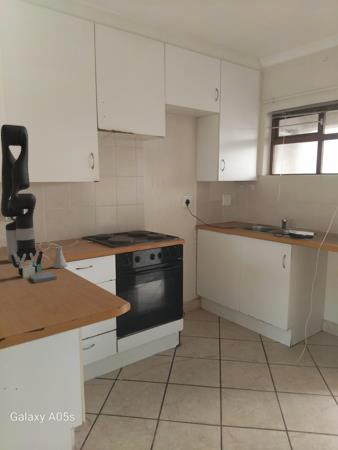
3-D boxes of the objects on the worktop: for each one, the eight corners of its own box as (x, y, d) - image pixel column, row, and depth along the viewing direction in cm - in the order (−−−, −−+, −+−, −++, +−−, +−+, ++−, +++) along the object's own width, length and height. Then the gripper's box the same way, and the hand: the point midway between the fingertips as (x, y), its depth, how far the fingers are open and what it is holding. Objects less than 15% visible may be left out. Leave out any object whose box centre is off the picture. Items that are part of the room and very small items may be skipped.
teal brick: (28, 270, 158) (27, 262, 157) (39, 269, 161) (38, 261, 160) (31, 273, 154) (30, 264, 153) (42, 271, 157) (41, 263, 156)
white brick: (20, 275, 149) (20, 267, 149) (32, 273, 152) (31, 265, 152) (23, 278, 145) (23, 269, 145) (35, 276, 148) (34, 267, 148)
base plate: (29, 278, 145) (29, 274, 145) (50, 274, 150) (49, 271, 150) (35, 283, 138) (35, 279, 138) (56, 279, 143) (56, 275, 143)
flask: (52, 265, 167) (51, 246, 165) (67, 264, 169) (66, 245, 168) (52, 269, 160) (51, 249, 159) (67, 267, 162) (66, 248, 161)
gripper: (39, 235, 154) (41, 270, 156) (6, 238, 145) (9, 275, 147) (44, 237, 148) (46, 273, 150) (10, 241, 139) (12, 279, 141)
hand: (28, 274), depth 149 cm, fingers closed on white brick, 5 cm apart
